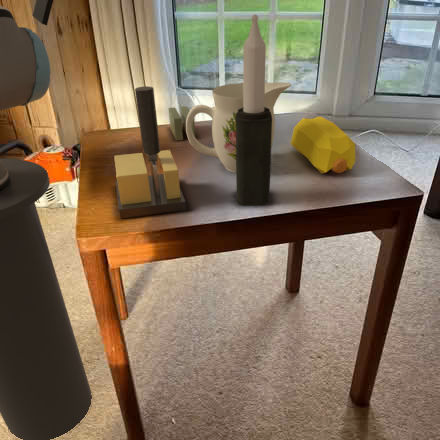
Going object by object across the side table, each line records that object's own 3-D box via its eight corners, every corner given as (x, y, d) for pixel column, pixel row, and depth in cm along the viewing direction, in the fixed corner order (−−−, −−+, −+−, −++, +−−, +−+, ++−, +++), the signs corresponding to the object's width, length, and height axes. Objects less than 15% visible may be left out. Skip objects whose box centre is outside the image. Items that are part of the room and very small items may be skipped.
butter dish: (116, 187, 77) (110, 152, 73) (174, 180, 78) (171, 146, 75) (120, 218, 67) (113, 180, 64) (186, 210, 69) (183, 172, 65)
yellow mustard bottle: (321, 143, 92) (285, 147, 91) (324, 108, 88) (287, 112, 87) (361, 176, 78) (319, 181, 76) (368, 136, 74) (324, 141, 72)
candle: (269, 205, 70) (276, 15, 55) (236, 205, 70) (234, 17, 55) (267, 191, 74) (274, 11, 59) (236, 192, 74) (234, 13, 59)
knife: (146, 182, 74) (133, 84, 65) (162, 180, 75) (151, 83, 66) (150, 197, 70) (136, 94, 61) (166, 195, 70) (155, 92, 61)
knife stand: (170, 128, 103) (168, 107, 100) (188, 126, 104) (186, 106, 101) (176, 140, 96) (174, 118, 93) (195, 138, 97) (194, 116, 94)
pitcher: (189, 158, 87) (183, 81, 79) (281, 154, 87) (285, 77, 79) (188, 180, 78) (182, 96, 70) (291, 175, 79) (297, 91, 70)
